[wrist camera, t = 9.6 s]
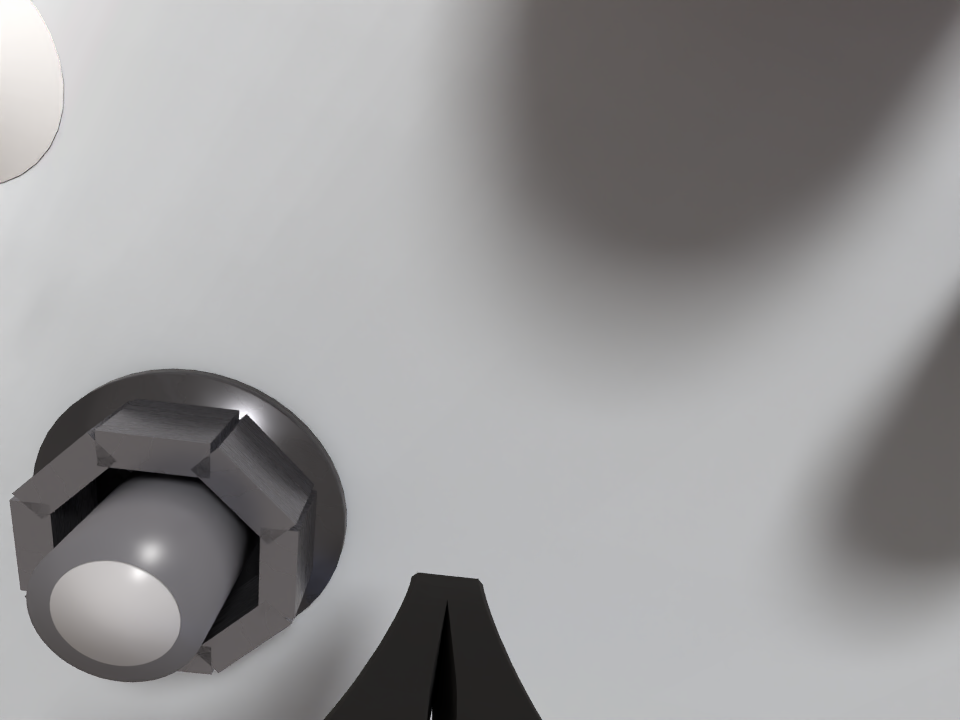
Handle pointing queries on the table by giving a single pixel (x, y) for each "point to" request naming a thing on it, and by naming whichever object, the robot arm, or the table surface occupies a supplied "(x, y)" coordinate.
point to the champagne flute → (26, 87)
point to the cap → (140, 578)
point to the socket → (220, 465)
